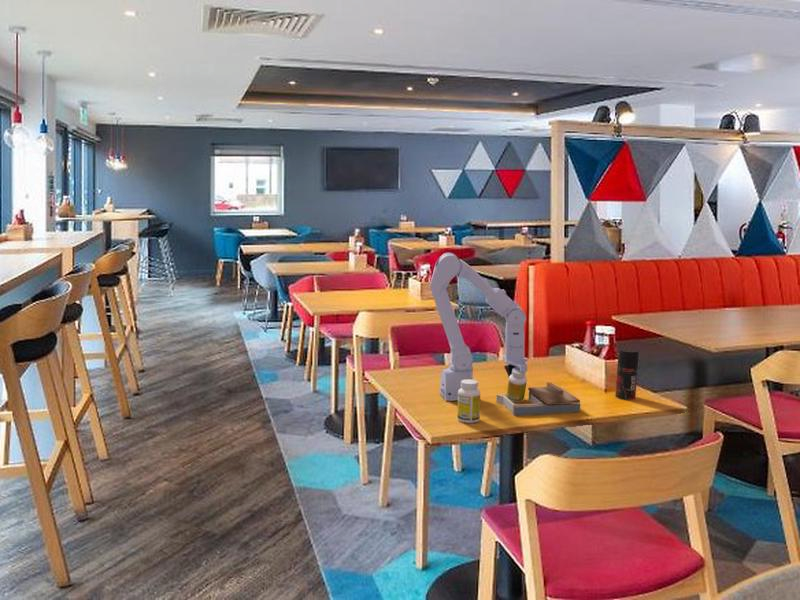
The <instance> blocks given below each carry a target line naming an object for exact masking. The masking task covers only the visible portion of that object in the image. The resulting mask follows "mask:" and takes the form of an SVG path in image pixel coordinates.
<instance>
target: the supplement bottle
mask: <svg viewBox="0 0 800 600" xmlns="http://www.w3.org/2000/svg"><path fill="white" fill-rule="evenodd" d="M526 373H527V372H520V369H518V367H515V368H513V370H512V374H511V375H510V376H509V377H508V380H507V388H506V396H505V397H507V398H508V399H509V400H510V401H511V402H513V403H521V402H524V399H525V397H526V396H525V395H526V390H527V382H528V379H527V377H526Z"/></svg>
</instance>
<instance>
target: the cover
mask: <svg viewBox="0 0 800 600" xmlns="http://www.w3.org/2000/svg"><path fill="white" fill-rule="evenodd" d="M527 390H528V392H529V391H530V392H531V393H533V394H534V395H535V396H537V397H538V398H539V399H541V400H540V401H541V402H542V403H544V404H545V405H554V404H574V403H580V404H581V400H580V399H579V398H578V397H576V396H575V395H573V394H572V393H571V392H568V391H567V390H566V389H564V388H562V387H561V386H559V385H558V386H557V385H556V384H555V383H553V382H546V386H536V387H535V386H534V387H532V386H531V387H528V389H527Z"/></svg>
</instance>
